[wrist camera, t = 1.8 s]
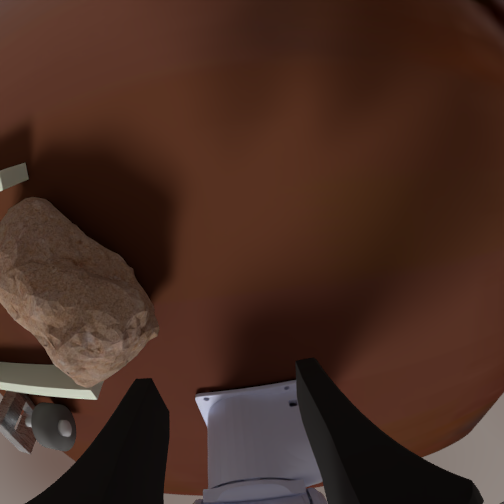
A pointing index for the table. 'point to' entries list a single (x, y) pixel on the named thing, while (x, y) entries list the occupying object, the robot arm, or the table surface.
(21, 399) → the axle mount
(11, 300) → the stone
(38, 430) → the wheel
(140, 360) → the table surface
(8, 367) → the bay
